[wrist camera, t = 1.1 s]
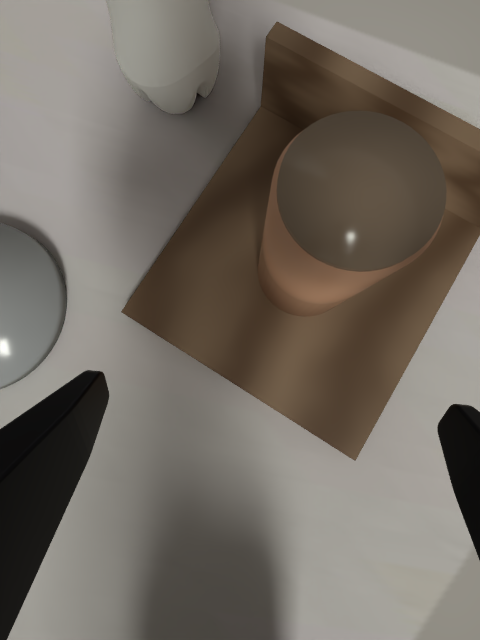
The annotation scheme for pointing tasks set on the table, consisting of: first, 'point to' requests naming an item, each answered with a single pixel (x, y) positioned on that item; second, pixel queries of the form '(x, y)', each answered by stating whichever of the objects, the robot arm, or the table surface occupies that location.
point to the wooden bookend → (245, 243)
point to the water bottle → (166, 49)
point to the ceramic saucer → (27, 304)
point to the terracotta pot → (347, 210)
